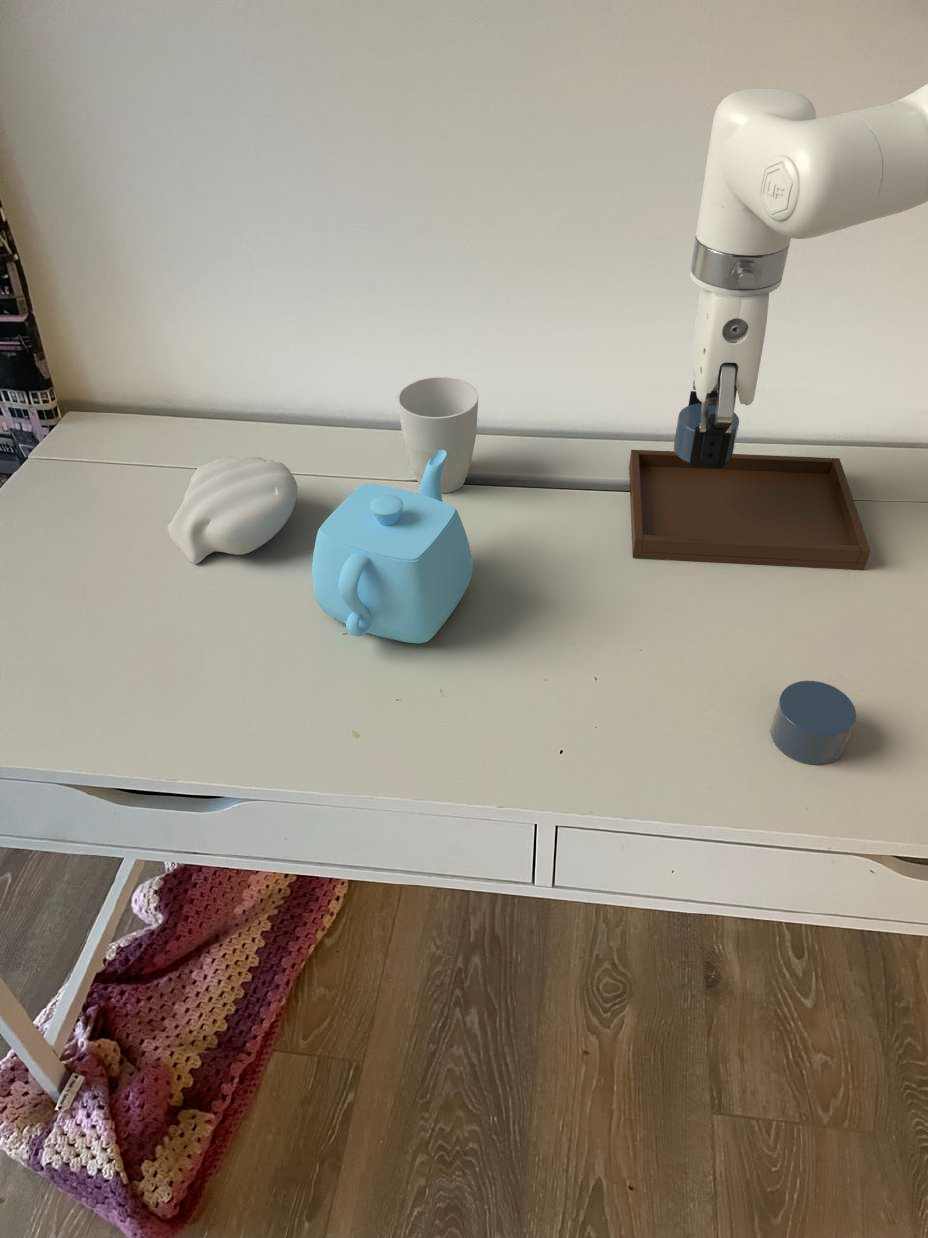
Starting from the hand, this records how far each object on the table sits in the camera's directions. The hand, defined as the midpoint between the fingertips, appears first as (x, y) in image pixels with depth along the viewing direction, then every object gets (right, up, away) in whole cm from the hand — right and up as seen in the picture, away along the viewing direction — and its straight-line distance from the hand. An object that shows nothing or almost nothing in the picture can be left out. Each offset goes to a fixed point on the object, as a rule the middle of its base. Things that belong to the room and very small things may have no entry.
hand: (704, 445), depth 90 cm
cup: (-26, -2, +11) cm, 28 cm away
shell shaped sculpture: (-46, -8, +5) cm, 47 cm away
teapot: (-29, -15, -3) cm, 32 cm away
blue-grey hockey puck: (+4, -26, -16) cm, 31 cm away
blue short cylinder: (0, 0, 0) cm, 1 cm away
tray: (+5, -6, +5) cm, 9 cm away
